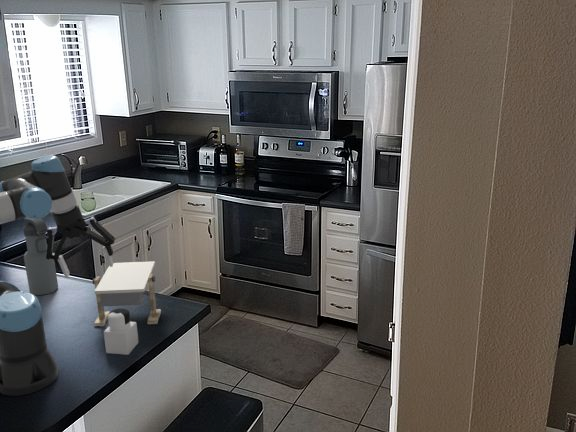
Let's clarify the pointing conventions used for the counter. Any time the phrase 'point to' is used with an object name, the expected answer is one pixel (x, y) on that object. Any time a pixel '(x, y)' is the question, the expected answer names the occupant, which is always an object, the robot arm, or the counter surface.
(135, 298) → the trapdoor flap
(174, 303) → the counter surface
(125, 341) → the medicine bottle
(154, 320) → the flap stand
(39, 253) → the water bottle
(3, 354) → the robot arm
